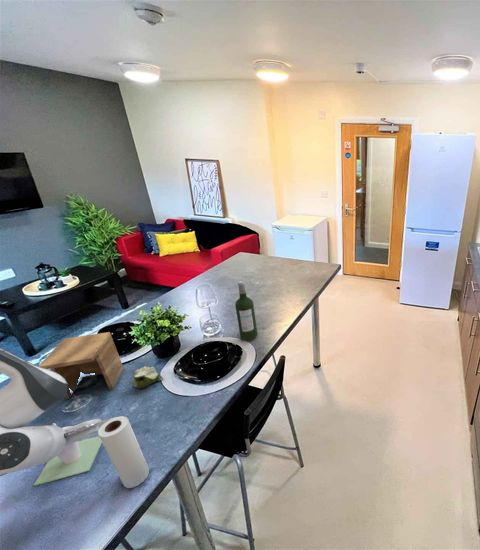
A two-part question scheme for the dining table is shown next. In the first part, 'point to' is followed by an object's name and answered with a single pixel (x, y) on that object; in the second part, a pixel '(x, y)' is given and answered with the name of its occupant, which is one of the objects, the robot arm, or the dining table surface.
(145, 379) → the mossy rock
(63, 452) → the smoothie
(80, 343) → the desk
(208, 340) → the dining table surface
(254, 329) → the wine bottle
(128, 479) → the paper towel roll
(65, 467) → the mat
